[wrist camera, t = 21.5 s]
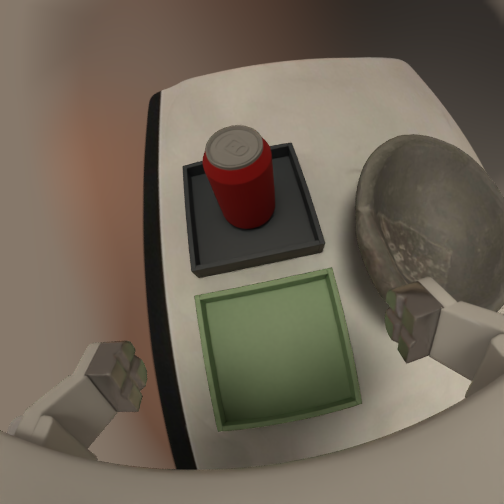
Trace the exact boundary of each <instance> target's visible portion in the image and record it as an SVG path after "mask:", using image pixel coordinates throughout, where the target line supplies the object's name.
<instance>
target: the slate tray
mask: <svg viewBox="0 0 504 504" xmlns="http://www.w3.org/2000/svg"><path fill="white" fill-rule="evenodd" d="M270 149H271V154H272V164H273V175H274V189H275V209H274V212H273V214H272V216H271V217H270V219H269V220H268V221H267V222H265V223H264V224H262V225H261V226H258V227H255V228H251V229H243V228H238V227H236V226H233V225H232V224H230V223H229V222H228V221H227V220H226V219H225V217H224V215H223V213H222V211H221V209H220V206H219V204H218V202H217V200H216V197H215V195H214V193H213V190H212V188H211V186H210V183H209V181H208V178H207V176H206V173H205V171H204V168H203V161H200V162H196V163H193V164H189V165H185V166H183V181H184V197H185V210H186V222H187V233H188V244H189V254H190V263H191V271H192V272H193V273H194V274H195V275H196V276H197V277H198V278H200V277H205V276H210V275H215V274H220V273H225V272H230V271H235V270H239V269H244V268H249V267H254V266H259V265H264V264H268V263H273V262H278V261H282V260H287V259H292V258H297V257H301V256H306V255H311V254H315V253H320V252H322V251H323V248H324V245H325V241H324V238H323V234H322V231H321V228H320V225H319V221H318V218H317V215H316V212H315V209H314V206H313V202H312V199H311V196H310V193H309V190H308V187H307V184H306V181H305V178H304V176H303V173H302V170H301V167H300V164H299V161H298V159H297V156H296V153H295V150H294V148H293V145H292V143H288V144H287V143H285V144H279V145H274V146H270Z"/></svg>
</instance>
